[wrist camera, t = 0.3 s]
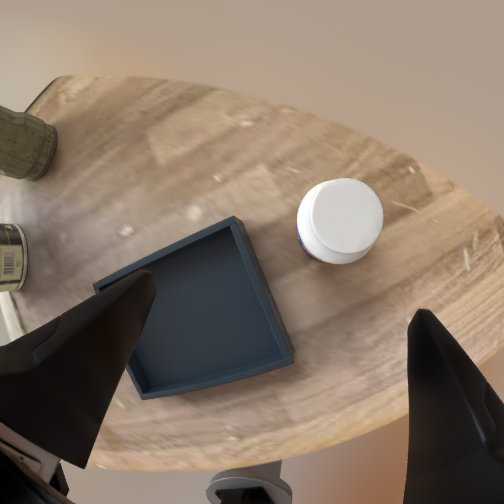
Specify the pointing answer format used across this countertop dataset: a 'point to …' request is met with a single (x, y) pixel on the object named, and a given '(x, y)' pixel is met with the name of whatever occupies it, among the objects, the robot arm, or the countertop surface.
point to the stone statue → (25, 145)
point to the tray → (205, 315)
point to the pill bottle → (339, 221)
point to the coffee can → (12, 257)
